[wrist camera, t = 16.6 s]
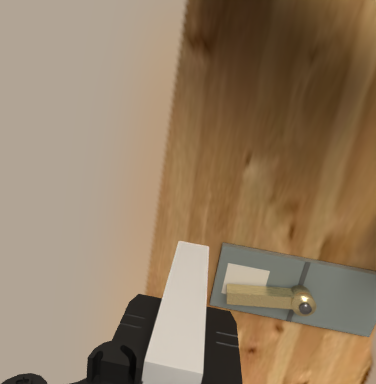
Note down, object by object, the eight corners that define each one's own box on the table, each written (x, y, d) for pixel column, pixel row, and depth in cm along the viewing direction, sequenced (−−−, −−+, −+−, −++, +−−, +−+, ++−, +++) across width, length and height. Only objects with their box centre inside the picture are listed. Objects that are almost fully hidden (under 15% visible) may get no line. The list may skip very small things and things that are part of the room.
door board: (222, 242, 45) (222, 246, 44) (391, 274, 43) (396, 278, 42) (209, 300, 48) (209, 305, 47) (365, 331, 47) (369, 337, 46)
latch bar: (308, 304, 45) (316, 320, 41) (225, 297, 46) (226, 313, 42) (311, 286, 44) (319, 300, 40) (226, 280, 45) (227, 293, 41)
